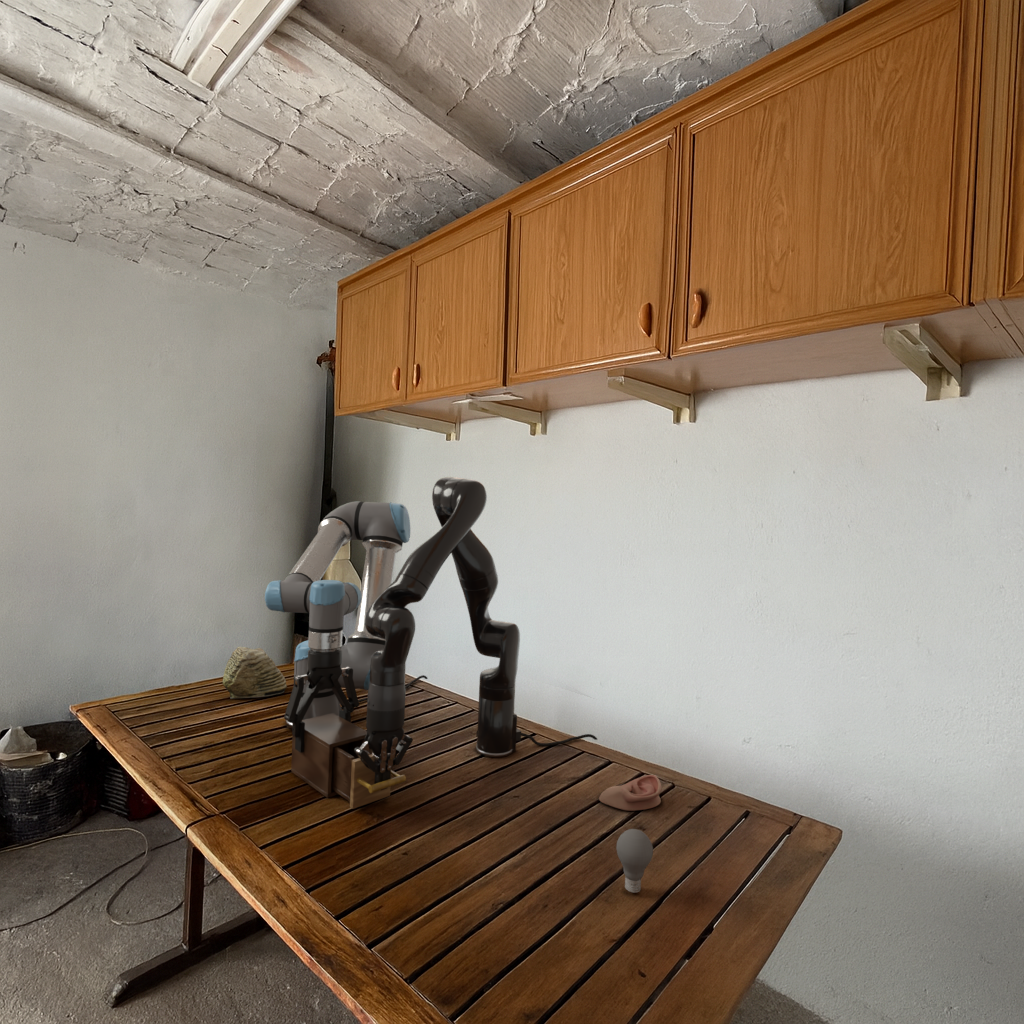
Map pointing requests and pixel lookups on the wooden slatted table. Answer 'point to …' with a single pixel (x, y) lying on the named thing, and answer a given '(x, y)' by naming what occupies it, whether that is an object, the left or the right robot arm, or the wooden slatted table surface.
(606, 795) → the anatomical model
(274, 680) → the fossil
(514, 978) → the wooden slatted table surface
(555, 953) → the wooden slatted table surface
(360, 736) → the cabinet
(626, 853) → the light bulb
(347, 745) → the drawer
